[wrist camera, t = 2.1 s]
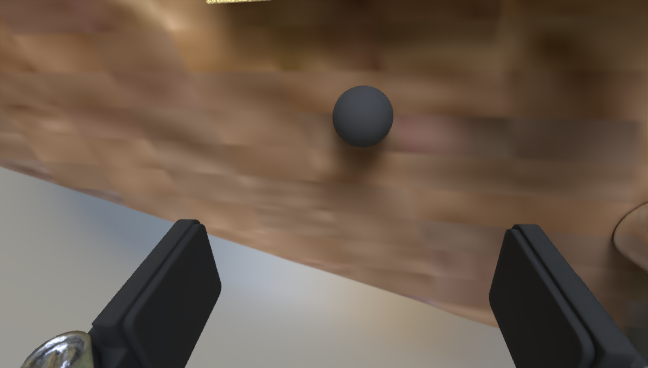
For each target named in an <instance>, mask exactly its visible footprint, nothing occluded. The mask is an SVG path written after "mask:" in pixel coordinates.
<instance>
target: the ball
mask: <svg viewBox="0 0 648 368" xmlns="http://www.w3.org/2000/svg"><path fill="white" fill-rule="evenodd" d="M392 122H393V109H392V106H391V103H390V101H389V100H388V98H387V97H386V95H385V94H383V93H382V92H381V91H380V90H378V89H376V88H373V87H370V86H357V87H354V88H351V89H349V90H348V91H346V92H345V93H343V94H342V95H341V96H340V98H339V99H338V100H337V102H336V104H335V107H334V110H333V125H334V128H335V130H336V132H337V134H338V135H339V137H340V138H341V139H342V140H344V141H345V142H346V143H348V144H350V145H352V146H356V147H369V146H372V145H375V144H377V143H378V142H380V141H381V140H382V139H383V138H385V136H386V135H387V134H388V132H389V131H390V128H391V126H392Z"/></svg>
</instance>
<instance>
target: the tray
mask: <svg viewBox="0 0 648 368" xmlns="http://www.w3.org/2000/svg"><path fill="white" fill-rule="evenodd" d="M253 1H269V0H206V2H207V4H220V3H237V2H253Z"/></svg>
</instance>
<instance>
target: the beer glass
mask: <svg viewBox="0 0 648 368" xmlns="http://www.w3.org/2000/svg"><path fill="white" fill-rule="evenodd" d="M613 241H614V245H615V247H616V249H617V251H618V252H619V253H620V254H621V255H623V256H624V257H625V258H627V259H628V260H630V261H631V262H633V263H634V264H636V265H637V266H639V267H640V268H642V269H643V270H644V271H645V272H647V273H648V203H647V204H644V205H642V206H640V207H638V208H636V209H635V210H633V211H632V212H630V213H629V214H628V215H627V216H626V217H624V218H623V220H622V221H621V222H620V223H619V225H618V226H617V228H616V230H615V232H614V237H613Z"/></svg>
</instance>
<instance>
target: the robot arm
mask: <svg viewBox="0 0 648 368" xmlns="http://www.w3.org/2000/svg"><path fill="white" fill-rule="evenodd" d="M220 292H221V281H220V278H219V274H218V271H217V268H216V264H215V260H214V257H213V253H212V250H211V246H210V243H209V239H208V236H207V232H206V229H205V226H204V225H203V224H200V222H199V221H198V220H192V219H180V220H178V221H177V222H176V223H175V224H174V225H173V226H172V228H171V229H170V230H169V231H168V232H167V234H166V235H165V236H164V237H163V239H162V240H161V241H160V242H159V243H158V245H157V246H156V247H155V248H154V249H153V250H152V252H151V253H150V254H149V255H148V257H147V258H146V259H145V260H144V261H143V262H142V264H141V265H140V266H139V267H138V268H137V270H136V271H135V272H134V273H133V274H132V276H131V277H130V278H129V279H128V280H127V282H126V283H125V284H124V285H123V286H122V288H121V289H120V290H119V291H118V293H117V294H116V295H115V296H114V297H113V299H112V300H111V301H110V302H109V303H108V305H107V306H106V307H105V308H104V309H103V311H102V312H101V313H100V314H99V315H98V317H97V318H96V319H95V320H94V321H93V323H92V325H93V327H92V329H91V330H90V331H89V332H88V333H85V332H83V331H71V332H66V333H63V334H60V335H57V336H56V337H54V338H52V339H50V340H48V341H46V342H45V343H44V344H42V345H41V346H39V347H38V348H37V349H35V350H34V351H33V352H32V353H31V354H30V355H29V356H28V357H27V359H26V360H25V361H24V363H23V365H22V366H21V368H185V366H186V364H187V361H188V360H189V358H190V356H191V353H192V351H193V349H194V347H195V345H196V343H197V341H198V339H199V337H200V335H201V333H202V331H203V329H204V326H205V324H206V322H207V320H208V318H209V316H210V314H211V312H212V310H213V308H214V306H215V304H216V301H217V299H218V297H219V295H220ZM489 302H490V306H491V308H492V311H493V313H494V316H495V318H496V320H497V323H498V325H499V328H500V330H501V332H502V335H503V337H504V340H505V342H506V344H507V347H508V349H509V352H510V354H511V356H512V359H513V361H514V364H515V366H516V368H648V364H647V363H646V361H645V360H644V359H643V358H642V356H641V355H640V354H639V352H638V351H637V350H636V349H635V347H634V346H633V345H632V343H631V342H630V341H629V340H628V338H627V337H626V336H625V335H624V333H623V332H622V331H621V329H620V328H619V327H618V326H617V324H616V323H615V322H614V320H613V319H612V318H611V317H610V315H609V314H608V313H607V311H606V310H605V309H604V308H603V306H602V305H601V304H600V302H599V301H598V300H597V299H596V297H595V296H594V295H593V293H592V292H591V291H590V290H589V288H588V287H587V286H586V284H585V283H584V282H583V281H582V279H581V278H580V277H579V276H578V275H577V274H576V273H575V272H574V270H573V269H572V268H571V267H570V265H569V264H568V263H567V261H566V260H565V259H564V257H563V256H562V255H561V254H560V252H559V251H558V250H557V248H556V247H555V246H554V245H553V243H552V242H551V241H550V239H549V238H548V237H547V236H546V234H545V233H544V232H543V230H542V229H541V228H540V227H539V226H538V225H531V224H515V225H514V226H513V227H512V229H508V230H507V231H506V233H505V236H504V240H503V244H502V247H501V251H500V255H499V259H498V262H497V266H496V270H495V274H494V278H493V281H492V285H491V289H490V293H489Z"/></svg>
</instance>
